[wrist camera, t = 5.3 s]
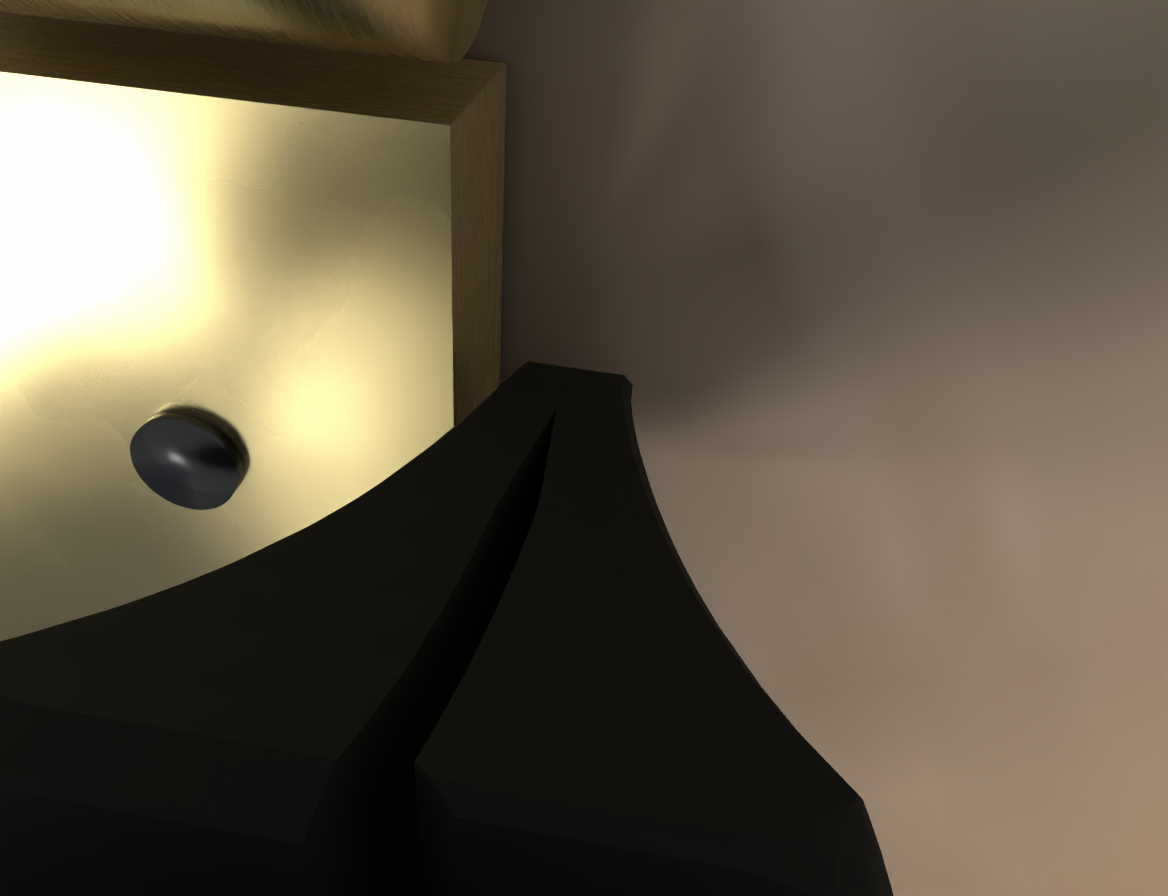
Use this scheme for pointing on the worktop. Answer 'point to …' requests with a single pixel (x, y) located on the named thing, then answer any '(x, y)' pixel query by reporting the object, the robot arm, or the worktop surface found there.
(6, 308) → the brass plate
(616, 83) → the worktop surface
